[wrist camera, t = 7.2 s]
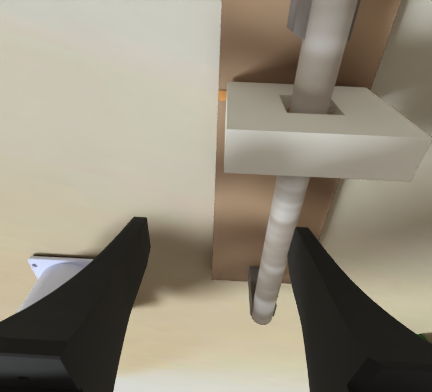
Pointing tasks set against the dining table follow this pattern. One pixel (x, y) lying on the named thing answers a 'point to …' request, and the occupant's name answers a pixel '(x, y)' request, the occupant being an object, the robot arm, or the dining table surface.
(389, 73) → the dining table surface
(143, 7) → the dining table surface
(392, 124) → the collar
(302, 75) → the slider rail
